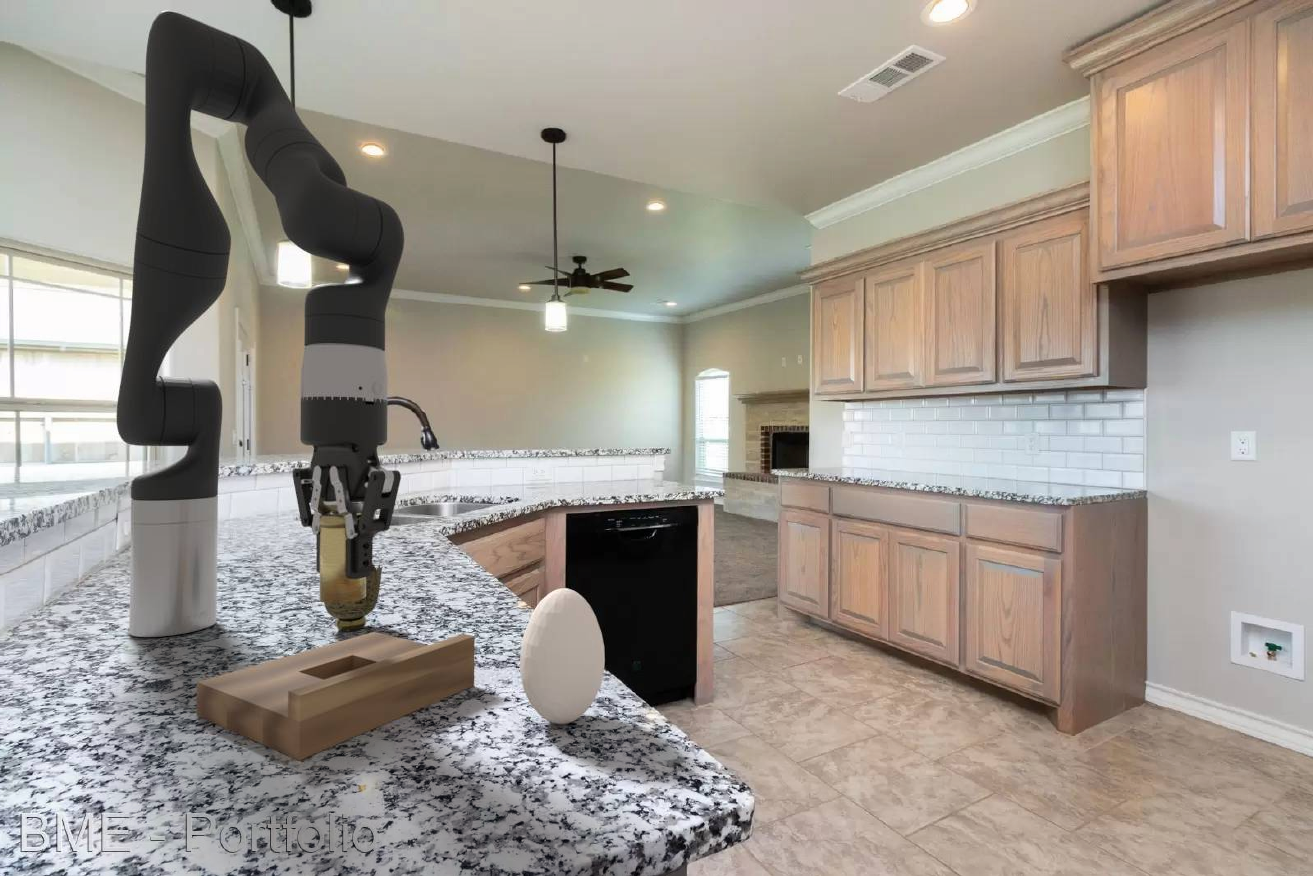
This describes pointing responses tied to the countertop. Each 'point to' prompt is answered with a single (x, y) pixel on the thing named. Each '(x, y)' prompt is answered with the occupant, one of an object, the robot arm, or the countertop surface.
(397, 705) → the jig
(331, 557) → the brass cylinder peg
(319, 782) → the countertop surface
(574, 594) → the egg
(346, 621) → the cup
